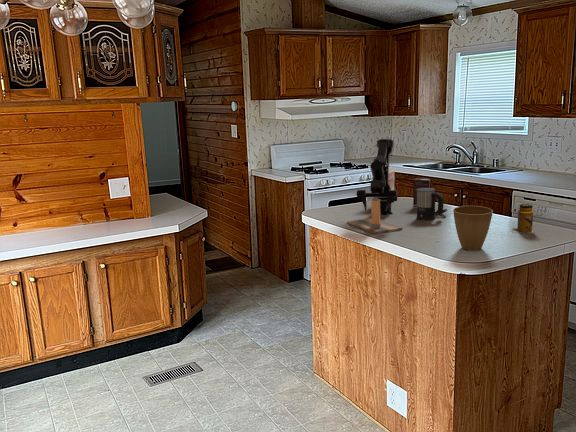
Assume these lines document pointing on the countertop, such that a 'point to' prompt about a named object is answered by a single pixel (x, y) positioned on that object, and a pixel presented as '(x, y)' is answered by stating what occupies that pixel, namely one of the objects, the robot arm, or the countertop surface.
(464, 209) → the plant pot
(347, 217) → the countertop surface
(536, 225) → the countertop surface
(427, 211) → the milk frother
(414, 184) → the supplement box
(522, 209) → the condiment
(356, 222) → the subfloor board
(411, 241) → the countertop surface
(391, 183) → the coffeecake box
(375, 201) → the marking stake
